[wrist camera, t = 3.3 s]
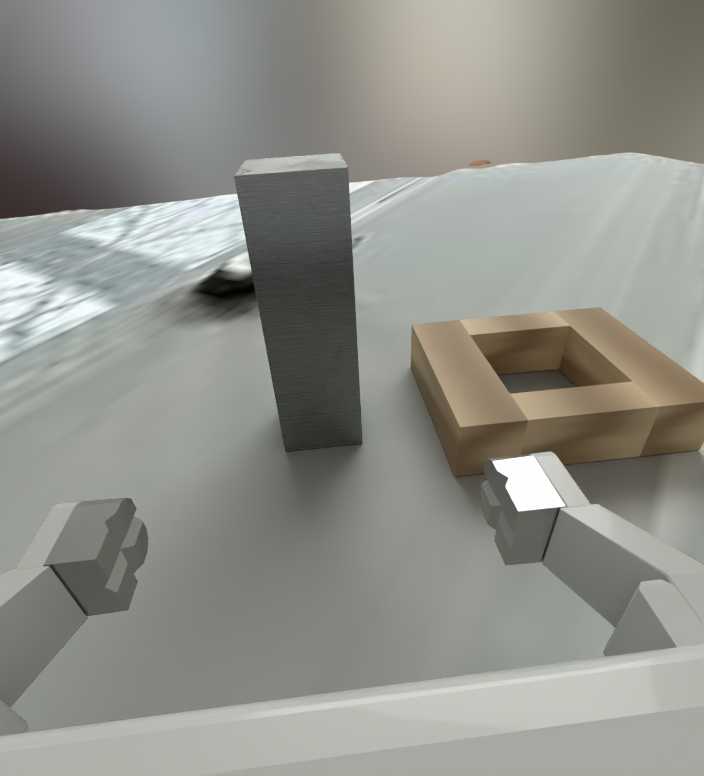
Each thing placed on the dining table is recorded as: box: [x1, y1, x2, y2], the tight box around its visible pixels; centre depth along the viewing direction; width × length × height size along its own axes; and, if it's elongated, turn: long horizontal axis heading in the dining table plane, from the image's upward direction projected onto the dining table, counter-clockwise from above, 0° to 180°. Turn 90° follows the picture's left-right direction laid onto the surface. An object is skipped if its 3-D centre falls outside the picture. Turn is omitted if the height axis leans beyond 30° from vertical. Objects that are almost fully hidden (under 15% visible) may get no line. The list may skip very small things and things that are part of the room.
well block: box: [411, 307, 704, 477], centre depth 24 cm, size 12×10×3 cm
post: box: [234, 153, 362, 452], centre depth 21 cm, size 4×4×13 cm
